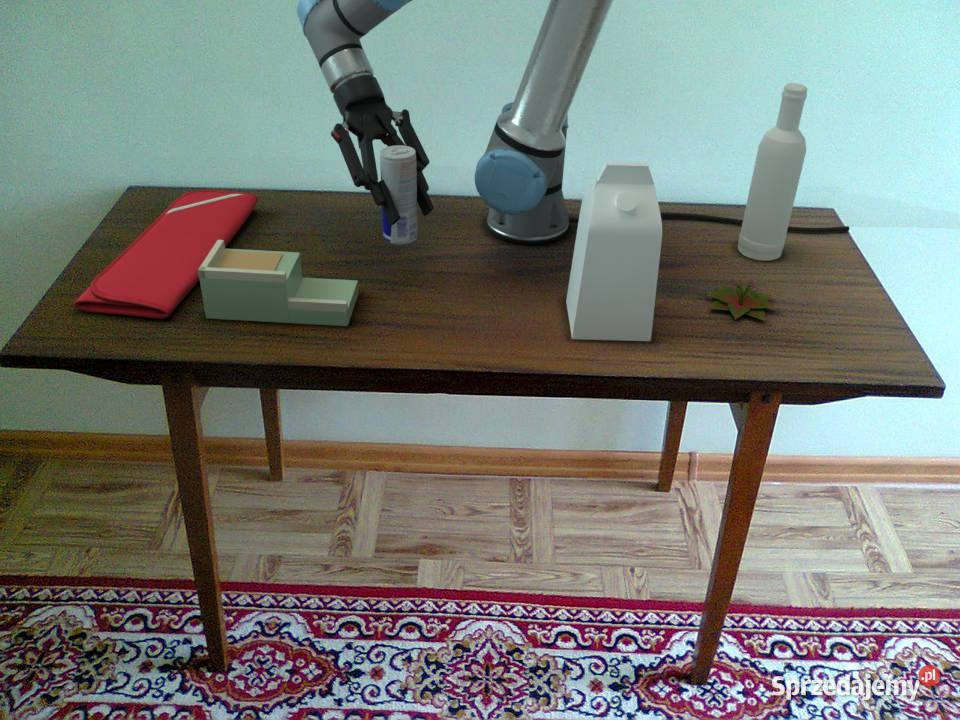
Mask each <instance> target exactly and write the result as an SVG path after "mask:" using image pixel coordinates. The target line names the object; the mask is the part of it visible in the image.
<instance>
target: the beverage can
mask: <svg viewBox="0 0 960 720" xmlns="http://www.w3.org/2000/svg"><path fill="white" fill-rule="evenodd" d="M415 153H416V151H415V149H413V148H412V147H409V146H403V145H396V146H389V147H388V146H386V147H383V148H382V149H381V150H380V152H379V154H380V156H379V165H380V169H379V170H380V181H382V180H384V182H385V184H386V186H387V188H388V190H389V193H390V195H391V197H392V199H393V202H394V204H395V206H396V208H397V211H398V213H399V215H400V217H401V218H400V219H399V220H398V221H397V222H396V223H395V224H394V225H391V226H390V224H389V222H388V219H387V217H386V215H385V213H384V210H383V208H382V207H381V210H382V211H381V214H382V218H381V219H382V237H383V239H384V240H385V241H386V242H388V243H390V244H393V245H399V246H400V245H401V246H402V245H408V244H410V243H413V242H415V241H416V240H417V239H418V237H419V236H418V235H419V233H418V232H419V231H418V229H419V228H418V227H419V226H418V202H417V165H416V155H415Z"/></svg>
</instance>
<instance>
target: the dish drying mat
mask: <svg viewBox="0 0 960 720" xmlns="http://www.w3.org/2000/svg"><path fill="white" fill-rule="evenodd" d="M258 202H259V196H258V195H256V194H253V193H250V192H239V191H232V190H230V191H229V190H220V189H219V190H218V189H217V190H216V189H199V190H194V191H193V190H192V191H185V192H184V193H183V194H182V195H180V196H179V197H177V198H176V199H175V200H174V201H173V202H171V204H170V205H169V206H168V207H167V208H166V209H165V210H164V211H163V212H162V213H161V214H160V215H159V216H158V217H157V218H156V219H155V220H154V221H153V222H151V224H150V225H149V226H147V227H146V229H144V231H143V232H141V234H140V235H138V236H137V237H136V238H135V239H134V241H133V242H131V244H129V245H128V246H127V247H126V248H125V249H124V250H123V251H122V252H121V253H120V254H119V255H118V256H117V257H115V258H114V259H113V260H112V262H111V263H109V265H108V266H106V267H105V268H104V269H103V270H102V271H101V272H99V273H98V274H97V275H96V276H95V277H94V278H93V279H92V280H91V282H90V286H89V287H88V288H87V289H86V290H84V291H83V293H82V294H81V295H79V297H78V298H77V299H76V300H75V301H74V303H73V304H74V307H75V308H76V309H77V310H78V311H80V312H85V313H94V314H95V313H96V314H105V315H118V316H119V315H120V316H130V317H138V318H139V317H140V318H149V319H156V320H166V319H168V318H169V317H170V316H171V314H172V313H173V312H174V311H175V310H176V308H177V307H178V306H179V305H180V303H181V302H182V301H183V300H184V299H185V297H186V296H187V295H188V294H189V293H190V292H191V291H192V289H193V288H194V287H195V286H196V284H197V283H198V282H200V278H199V272H198V269H199V268H200V266H201V265H202V263H203V262H204V260H205V259H206V257H207V255H208V254H209V252H210V251H211V249H212V248H213V246H214V245H215V243H216V242H217V240H224V244H225V248H226V247H227V246H228V245H229V243H230V242H231V241H232V240H233V238H234V237H235V236H236V235H237V233H238V232H239V230H240V229H241V228H242V226H243V225H244V223H245V222H246V221H247V219H248V218H249V216H250V215H251V213H253V211H254V209H255V207H256V205H257V204H258Z"/></svg>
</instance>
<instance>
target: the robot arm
mask: <svg viewBox="0 0 960 720" xmlns="http://www.w3.org/2000/svg"><path fill="white" fill-rule="evenodd" d="M412 1H413V0H299V2H298V4H297V7H296V14H297V17H298V20H299V22H300V26H301V28H302V32H303V35H304V37H306V40H307V41H308V44H309V45H310V48H311V51H312V52H313V55H314V56H315V59H316V61H317V63H318V66H319V68H320V71H321V73H322V75H323V77H324V79H325V82H326V84H327V86H328V89H329V91H330V93H332V94H333V95H332V98H333V100H334V103H335V106H336V108H337V109H338V111H339V114H340V115H341V117H342V122H341V123H339V122H338V123H335V125H334V127H333V128H332V129H331V132H330V136H331V137H332V138H333V140H334V141H335V142H336V143H337V144H338V147H339V149H340V152H341V154H342V157H343V159H344V162H345V164H346V167H347V170H348V172H349V175H350V177H351V180H352V182H353V185H354V186H355V187H356V188H361V187H364V189H365V190H366V191H369V192H370V194H371V196H372V198H373V201H374V203H375V205H376V206H378V207H379V206H380V207H381V209H382V208H383V210H384V213H385V215H386V217H387V219H388V222H389V224H390V226H391V225H394V224H395V223H396V222H397V221H398V220H399V219H400V218H401V217H400V215H399V213H398V211H397V208H396V206H395V204H394V202H393V199H392V197H391V195H390V193H389V190H388V188H387V186H386V184H385V182H384V180H382V181H381V180H379V176H378V175H379V173H378V169H377V168H378V167H377V161H376V156H375V150H374V149H375V148H374V143H373V141H376V140H378V141H379V140H380V141H381V143H382V144H383V145H386V147H389V146H396V145H403V146H409V147H412V148H413V149H415V151H416V153H415V155H416V165H417V206H418V207H419V209H420V211H421V214H422V216H423V217H427V216H428V215H429V214H430V213H431V212H432V211H433V210H434V209H435V207H434V204H433V202H432V200H431V198H430V195H429V194H428V191H429V190H430V186H429V183H428V182H427V179H426V177H425V175H424V172H423V171H424V170H425V169H426V168H427V166H428V165H430V159H429V157H428V154H427V153H426V151H425V149H424V147H423V145H422V143H421V141H420V139H419V136H418V134H417V132H416V131H415V129H414V127H413V125H412V122H411V117H410V111H409V110H408V109H406V108H404V109H402V110H401V111H395V110H393V109H392V108H391V107H390V106H389V105H388V104H387V102H386V98H385V95H384V92H383V90H382V87H381V85H380V83H379V80H378V79H377V77H376V76H375V73H374V69H373V67H372V65H371V63H370V61H369V59H368V57H367V55H366V52H365V50H364V48H363V46H362V42H361V39H362V38H363V37H365V36H366V35H367V34H368V33H369V32H370V31H372V30H373V29H375V28H376V27H377V26H378V25H380V24H381V23H383V22H384V21H386V20H387V19H388V18H389V17H391V16H392V15H393V14H395V13H396V12H398V11H400V10H401V9H402V8H403V7H404V6H406V5H408V4H409V3H410V2H412ZM613 2H614V0H550V1H549V4H548V7H547V9H546V12H545V15H544V18H543V21H542V23H541V26H540V28H539V31H538V33H537V37H536V39H535V42H534V44H533V48H532V50H531V53H530V56H529V59H528V62H527V64H526V67H525V70H524V72H523V75H522V78H521V81H520V83H519V86H518V89H517V91H516V94H515V97H514V100H513V102H508V103H506V104H504V105H503V106H502V109H501V113H500V114H499V115H498V117H497V119H496V122H495V124H494V127H493V129H492V132H491V135H490V138H489V141H488V144H487V146H486V149H485V152H484V154H483V155H482V156H481V157H480V159H479V160H478V161H477V164H476V166H475V171H474V185H475V188H476V191H477V193H478V195H479V196H480V198H481V200H482V201H483V202H484V204H486V205H487V206H488V207H489V209H488V211H487V215H486V228H487V230H488V231H489V233H490V234H491V235H493V236H495V237H496V238H498V239H500V240H503V241H505V242H509V243H512V244H518V245H529V246H531V245H532V246H534V245H544V244H545V245H546V244H550V243H554V242H556V241H559V240H561V239H563V238H564V237H565V236H567V234H568V232H569V226H570V223H577V224H578V222H579V217H570V216H569V212H568V208H567V204H566V201H565V198H564V197H565V196H564V193H563V182H564V181H563V180H564V171H565V158H566V145H567V133H568V129H569V123H568V122H569V116H568V114H569V111H570V108H571V106H572V104H573V102H574V98H575V97H576V95H577V92H578V88H579V87H580V84H581V82H582V79H583V76H584V74H585V72H586V70H587V67H588V65H589V62H590V60H591V57H592V55H593V52H594V49H595V47H596V44H597V42H598V40H599V38H600V35H601V33H602V30H603V27H604V24H605V23H606V20H607V18H608V15H609V12H610V10H611V8H612V5H613ZM392 122H394V125H393V124H392ZM394 126H395V127H394ZM396 127H397V129H398V131H397V129H396ZM398 132H399V134H398ZM350 133H352V134H353V135H354V136H356V138H357V144H358V149H359V150H360V157H361V159H360V157H359V154H358V152H357V149H356V147H355V144H354V142H353V139H352V137H351V135H350ZM399 135H400V136H399ZM660 215H661V218H679V219H680V218H681V219H695V220H704V221H705V220H707V221H712V222H713V221H714V222H720V223H728V224H735V225H741V226H742V223H743V219H738V218H732V217H723V216H716V215H708V214H699V213H689V212H688V213H687V212H660ZM849 231H850V226H848V225H847V226H831V227H803V226H802V227H801V226H791V225H788V229H787V232H797V233H798V232H799V233H839V232H849Z"/></svg>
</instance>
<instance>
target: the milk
mask: <svg viewBox="0 0 960 720" xmlns="http://www.w3.org/2000/svg"><path fill="white" fill-rule="evenodd" d="M650 170H651V169H650V167H649V165H648V162H647V161H646V162H643V161H641V162H640V161H613V160H612V161H608V160H606V161H605V162H604V164H603V166H602V168H601V169H600V171H599V173H598V175H597V177H596V179H595V180H594V181H593V182H592V184H591V185H590V186H589V187H588V189H587V190H586V191H585V192H584V194H583V196H582V198H581V202H580V203H581V204H580V210H579V216H578V218H579V222H578V223H577V229H576V235H575V242H574V249H573V253H572V261H571V268H570V274H569V281H568V286H567V292H566V299H565V302H566V310H567V316H568V322H569V329H570V336H571V340H583V341H584V340H586V341H590V340H591V341H592V340H593V341H623V342H624V341H625V342H628V341H629V342H651V341H652V335H653V323H654V315H655V306H656V298H657V297H656V295H657V287H658V278H659V268H660V261H661V260H660V259H661V250H662V243H663V242H662V241H663V221H662V217H661V215H660V213H661V209H660V205H659V200H658V194H657V190H656V186H655V182H654V179H653V176H652V173H651V171H650Z"/></svg>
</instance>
